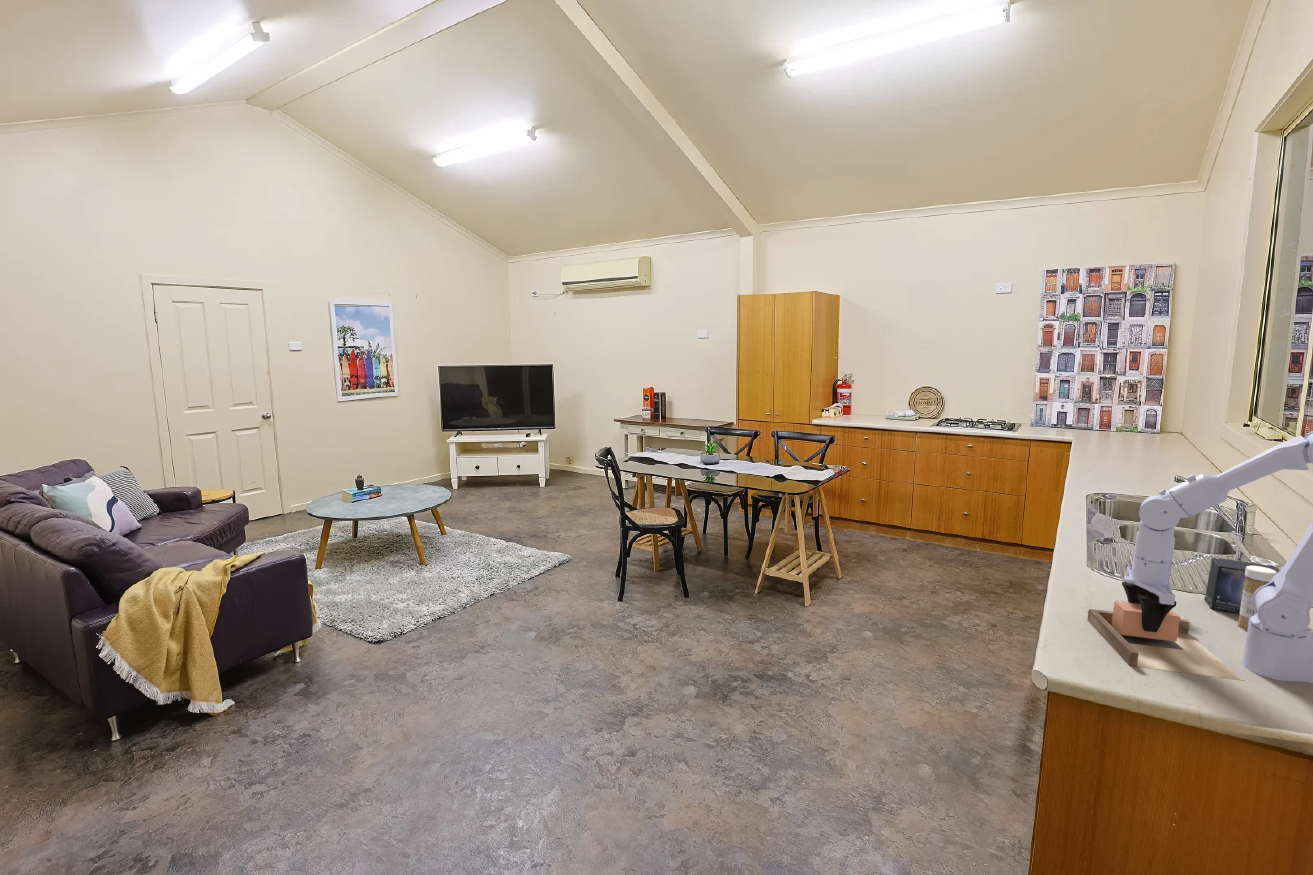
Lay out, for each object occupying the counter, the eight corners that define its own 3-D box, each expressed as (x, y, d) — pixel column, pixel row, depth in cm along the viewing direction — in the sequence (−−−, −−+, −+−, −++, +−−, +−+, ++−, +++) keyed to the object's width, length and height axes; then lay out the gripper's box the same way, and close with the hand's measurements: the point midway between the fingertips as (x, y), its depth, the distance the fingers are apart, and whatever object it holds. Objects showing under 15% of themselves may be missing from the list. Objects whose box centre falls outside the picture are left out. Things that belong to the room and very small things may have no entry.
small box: (1210, 610, 136) (1217, 564, 135) (1203, 599, 142) (1210, 556, 140) (1276, 621, 131) (1284, 574, 129) (1265, 610, 137) (1273, 565, 135)
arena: (1184, 635, 124) (1186, 619, 123) (1244, 685, 106) (1247, 666, 105) (1086, 624, 128) (1088, 608, 128) (1128, 670, 110) (1130, 652, 110)
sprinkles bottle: (1271, 634, 125) (1282, 570, 123) (1260, 638, 123) (1271, 574, 121) (1242, 624, 129) (1252, 563, 127) (1231, 628, 127) (1241, 566, 125)
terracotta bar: (1120, 634, 120) (1124, 610, 119) (1111, 624, 124) (1114, 601, 123) (1176, 641, 117) (1180, 616, 116) (1165, 631, 121) (1168, 607, 120)
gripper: (1112, 544, 126) (1104, 607, 128) (1146, 568, 112) (1136, 638, 114) (1152, 547, 124) (1144, 611, 126) (1192, 573, 110) (1182, 644, 112)
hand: (1143, 625), depth 120 cm, fingers closed on terracotta bar, 4 cm apart
